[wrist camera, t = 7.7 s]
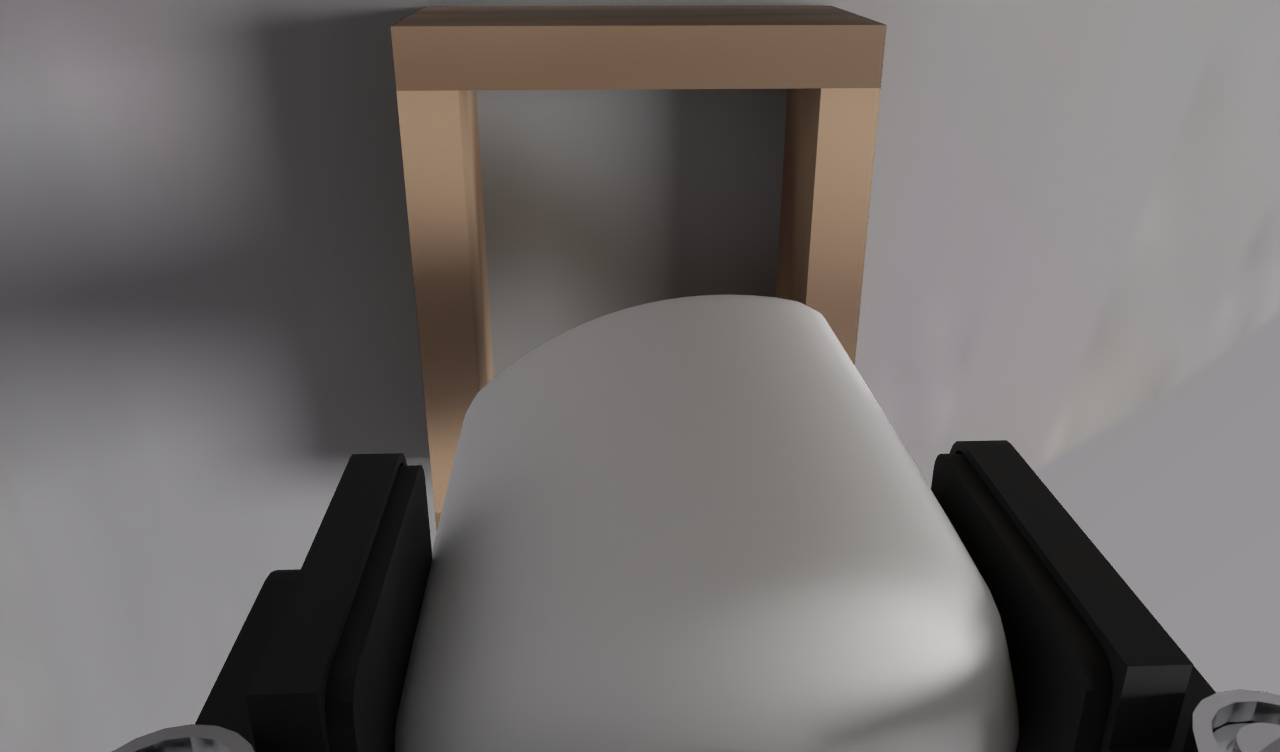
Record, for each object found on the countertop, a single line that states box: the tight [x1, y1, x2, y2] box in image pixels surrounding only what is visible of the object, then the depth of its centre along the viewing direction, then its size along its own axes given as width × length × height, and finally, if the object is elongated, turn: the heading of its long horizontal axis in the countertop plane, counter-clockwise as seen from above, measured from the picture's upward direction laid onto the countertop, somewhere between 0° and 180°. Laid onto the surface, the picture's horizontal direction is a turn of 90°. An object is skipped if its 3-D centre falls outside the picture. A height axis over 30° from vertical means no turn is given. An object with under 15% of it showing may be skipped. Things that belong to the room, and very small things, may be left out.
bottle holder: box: [390, 6, 886, 530], centre depth 20 cm, size 10×8×4 cm
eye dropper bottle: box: [395, 295, 1020, 752], centre depth 10 cm, size 4×6×12 cm
